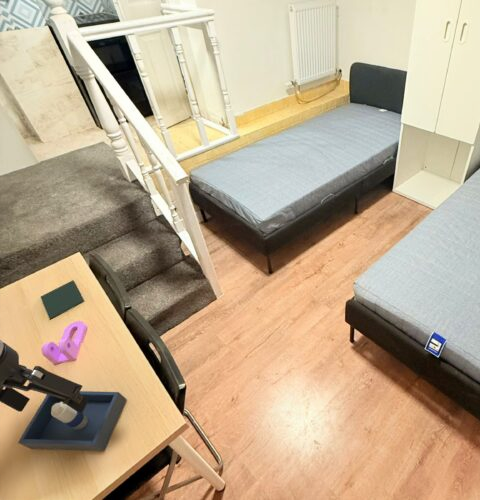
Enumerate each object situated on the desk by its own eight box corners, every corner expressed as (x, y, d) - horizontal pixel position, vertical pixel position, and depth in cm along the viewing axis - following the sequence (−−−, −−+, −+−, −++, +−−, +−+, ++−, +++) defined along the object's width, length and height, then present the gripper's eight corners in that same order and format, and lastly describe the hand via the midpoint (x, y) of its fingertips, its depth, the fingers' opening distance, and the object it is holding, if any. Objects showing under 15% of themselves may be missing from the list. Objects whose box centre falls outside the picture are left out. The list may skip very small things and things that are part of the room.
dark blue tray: (32, 449, 77) (17, 443, 74) (61, 398, 86) (49, 390, 82) (105, 451, 77) (94, 445, 73) (127, 400, 85) (118, 391, 81)
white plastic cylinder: (70, 429, 80) (43, 413, 73) (79, 414, 82) (54, 398, 75) (82, 431, 79) (57, 415, 72) (91, 416, 82) (67, 400, 74)
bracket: (77, 360, 93) (62, 348, 88) (55, 365, 92) (39, 352, 87) (89, 321, 102) (76, 308, 97) (69, 325, 101) (55, 312, 96)
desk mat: (41, 297, 110) (40, 296, 109) (73, 281, 114) (73, 280, 114) (50, 319, 103) (49, 318, 103) (84, 301, 108) (83, 300, 107)
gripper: (-107, 379, 56) (-13, 422, 71) (35, 381, 55) (100, 425, 70) (-69, 339, 61) (11, 387, 76) (61, 340, 60) (117, 389, 75)
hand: (54, 405), depth 73 cm, fingers open, 13 cm apart
